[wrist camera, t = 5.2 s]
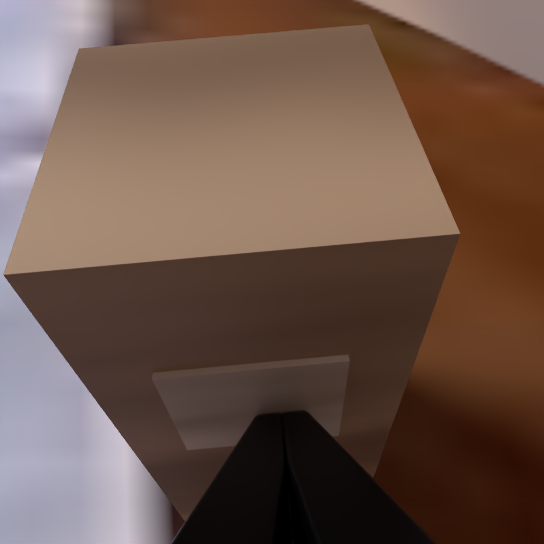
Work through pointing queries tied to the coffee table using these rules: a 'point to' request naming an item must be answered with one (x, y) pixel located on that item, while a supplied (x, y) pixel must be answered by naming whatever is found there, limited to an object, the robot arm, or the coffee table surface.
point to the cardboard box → (235, 242)
